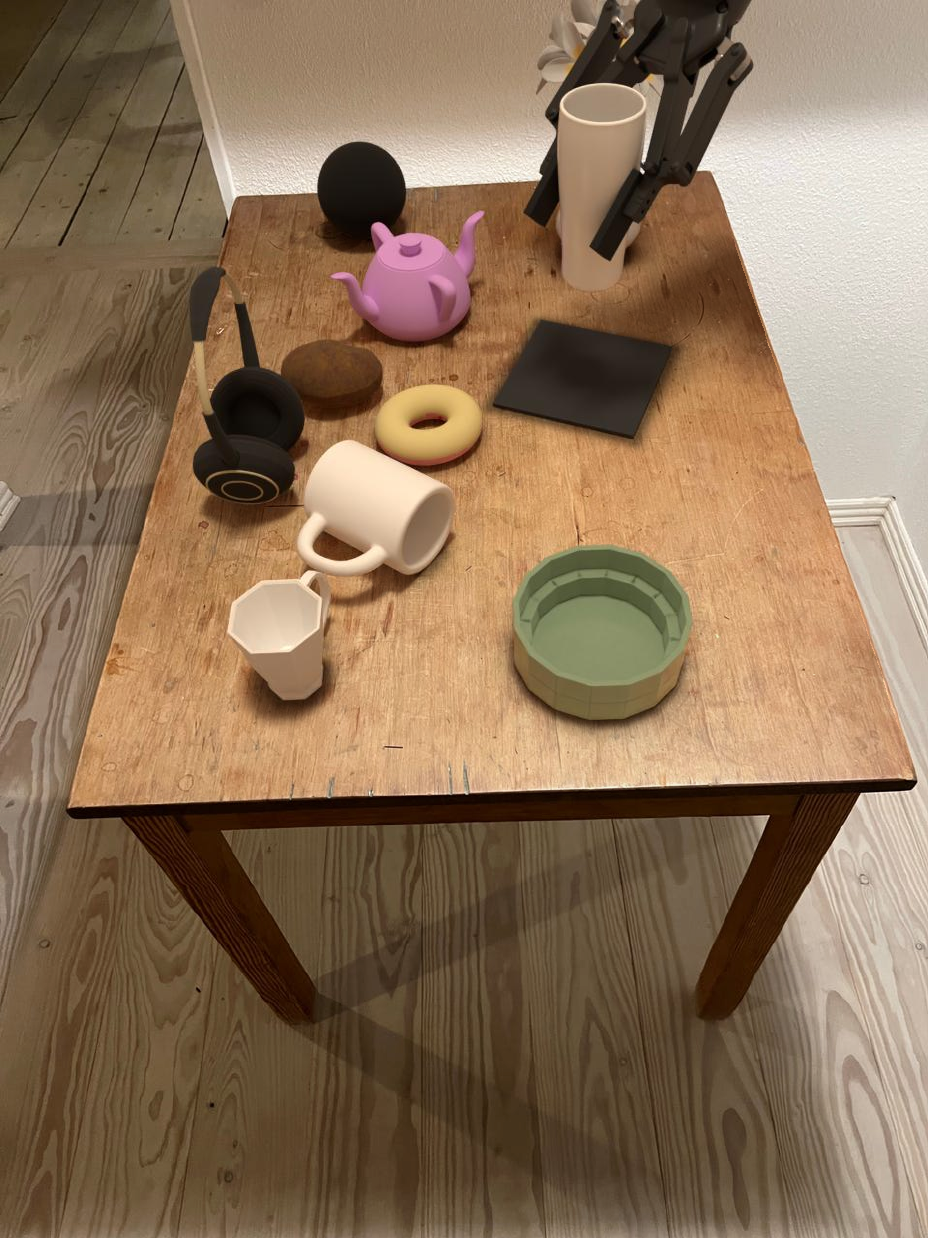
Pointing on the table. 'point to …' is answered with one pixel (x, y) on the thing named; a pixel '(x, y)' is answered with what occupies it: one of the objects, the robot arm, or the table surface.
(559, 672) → the bowl
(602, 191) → the drinking glass
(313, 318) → the table surface
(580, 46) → the flower vase
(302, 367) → the potato
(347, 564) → the mug
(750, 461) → the table surface
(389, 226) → the decorative ball
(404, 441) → the donut
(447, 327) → the teapot
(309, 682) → the cup
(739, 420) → the table surface
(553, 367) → the mat
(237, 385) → the headphones
